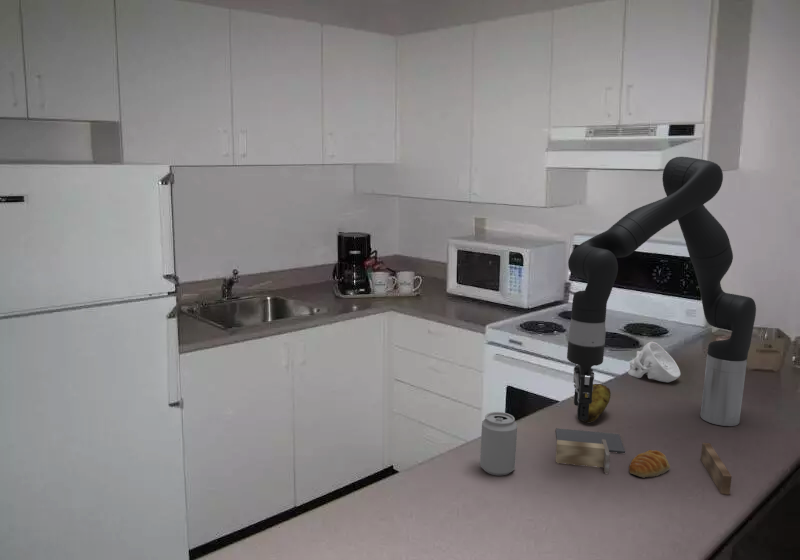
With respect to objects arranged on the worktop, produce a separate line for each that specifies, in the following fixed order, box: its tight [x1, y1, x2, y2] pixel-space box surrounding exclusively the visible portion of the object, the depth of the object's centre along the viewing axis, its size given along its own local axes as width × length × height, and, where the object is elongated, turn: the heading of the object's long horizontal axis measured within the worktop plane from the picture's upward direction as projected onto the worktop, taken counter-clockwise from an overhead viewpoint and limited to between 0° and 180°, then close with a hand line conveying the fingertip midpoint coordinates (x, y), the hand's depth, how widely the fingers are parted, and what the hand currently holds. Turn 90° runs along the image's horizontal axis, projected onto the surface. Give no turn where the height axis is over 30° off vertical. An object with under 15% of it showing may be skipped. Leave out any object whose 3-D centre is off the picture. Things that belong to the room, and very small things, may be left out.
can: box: [479, 411, 518, 476], centre depth 143 cm, size 8×8×12 cm
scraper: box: [555, 439, 611, 475], centre depth 148 cm, size 11×8×4 cm
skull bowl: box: [627, 341, 681, 383], centre depth 206 cm, size 10×14×12 cm
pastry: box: [628, 449, 671, 479], centre depth 145 cm, size 9×7×4 cm
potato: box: [577, 383, 611, 424], centre depth 174 cm, size 8×13×8 cm, turn 130°
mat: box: [555, 427, 626, 454], centre depth 159 cm, size 10×15×1 cm, turn 80°
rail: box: [700, 442, 733, 496], centre depth 143 cm, size 16×2×4 cm, turn 170°
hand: (580, 412), depth 146 cm, fingers open, 8 cm apart
